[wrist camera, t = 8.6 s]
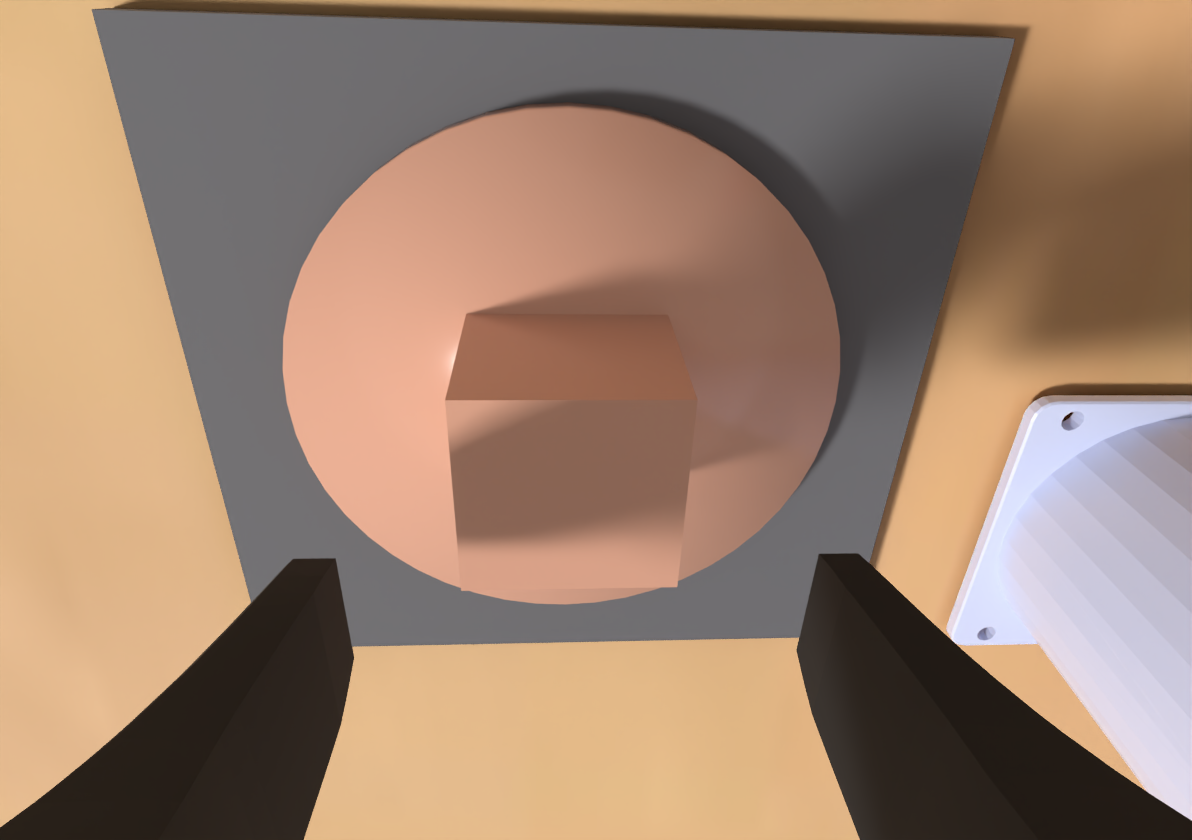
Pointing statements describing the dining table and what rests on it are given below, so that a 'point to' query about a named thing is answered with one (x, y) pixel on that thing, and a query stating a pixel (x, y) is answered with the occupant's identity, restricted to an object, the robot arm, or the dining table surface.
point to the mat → (513, 78)
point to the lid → (561, 354)
